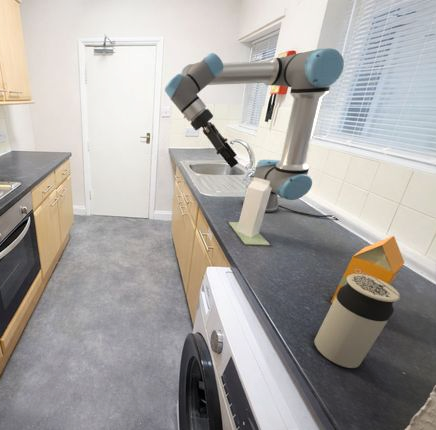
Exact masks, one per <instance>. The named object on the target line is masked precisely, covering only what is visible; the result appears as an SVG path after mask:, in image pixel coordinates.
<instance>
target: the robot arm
mask: <svg viewBox="0 0 436 430" xmlns="http://www.w3.org/2000/svg"><path fill="white" fill-rule="evenodd" d="M344 67H345V61H344V57H343V55H342V54H341V53H340V51H339V50H337V49H336V48H330V47H329V48H328V47H327V48H318V49H314V50H313V49H312V50H309V51H304V52H298V53H295V54H291V55H286V56H281V57H272V58H270V59H269V60H265V61H239V62H238V61H237V62H236V61H235V62H223V61H222V59H221V58H220V57H219V56H218V54H216V53H214V52H210V53H209V54H208V55H206V56H205V57H203V59H202V60H200V61H198V62H195V63H191V64H187V65H186V66H184V67H183V68H182V69H181V70H180V71H181V72H180V73H177V74H176V75H174V76H173V77H172V78H171V79H170V80H169V81H168V82H167V83H166V85H165V87H164V92H165V93H166V95H167V96H168V97H169V99H170V101H171V102H172V103H173V105H175V107H176V108H177V109H178V110H179V112H180V113H181V114H182V115H183V116H182V118H183V119H185V120H187V121H188V122H190V125H191V127H192V128H193V130H195V131H198V130H200V129H201V128H202V133H203V134H204V135H205V136H206V138H207V139H208V140H209V142H210V143H211V144H212V146H213V147H214V149H215V150H216V152H215V153H216V154H217V155H219V154H220V156H221V157H222V158H223V160H224V161H225V162H226V164H227V165H228V166H229V167H230V168H231V169H232V168H233V167H235V166H236V165H238V164H239V162H238V160H237V159H236V157H237V153H236V152H235V150H234V149H233V147H231V145H230V144H229V143H228V138H225V137H224V136H223V135H222V134H221V133H220V132H219V130H218V129H217V127H216V126H215V124H213V123H212V122H211V120H212V119H213V118H214V115H213V113H212V112H211V111H210V110H209V108H207V105H206V104H205V103H204V101H203V100H202V99H201V98H200V97H199V95H198V94H199V93H200V92H201V91H202V90H204V88H206V87H207V86H218V85H219V86H221V85H241V84H264V85H265V86H278V87H286V88H290V92H289V94H290V96H291V97H292V98H293V101H292V106H291V110H290V115H289V120H288V123H287V129H286V134H285V138H284V143H283V144H284V145H283V149H282V153H281V158H280V159H260V160H258V161H257V163H256V166H255V170H254V175H253V179H254V177H256V178H260V179H264V180H268V181H270V187H271V188H272V189H271V193H270V196H269V199H268V203H267V206H266V210H265V213H274V212H277V211H278V209H279V208H281V209H284V210H286V211H289V212H293V213H295V214H301V215H305V216H308V217H309V216H310V217H316V218H332V219H335V220H336V221H339V218H338V217H337V218H338V219H337V218H335V217H336V216H335V217H332V216H333V215H331V214H326V215H325V214H323V215H319V214H312V213H307V212H304V211H297V210H293V209H291V208H289V207H286V206H283V205H279V199H278V198H279V197H280V198H282V199H285V200H288V201H296V200H299V199H300V198H301V199H302V198H303V197H304V196H306V195H307V194H308V193H309V191H310V190H311V188H312V186H313V179H312V178H311V176H310V175H308V174H309V169H310V166H309V164H308V163H307V159H308V154H309V152H310V147H311V143H312V140H313V135H314V132H315V131H314V130H315V127H316V122H317V119H318V115H319V111H320V107H321V103H322V99H323V97H324V96H325V95H327V94H328V93H330V88H331V86H332V85H334V84H335V83H336V82H337V80H339V79H340V78H341V76H342V74H343V71H344ZM209 121H210V122H209ZM253 179H252V180H253ZM244 200H245V197H244V199H243V201H242V205H243V204H244Z"/></svg>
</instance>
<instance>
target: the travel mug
mask: <svg viewBox="0 0 436 430" xmlns="http://www.w3.org/2000/svg"><path fill="white" fill-rule="evenodd" d="M400 299H401V295H400V292H399V291H398V290H397V289H396V288H394V287H393V286H392V285H391V286H390V285H389V284H387V283H385V282H383V281H381V280H379V279H377V278H374V277H371V276H367V275H362V274H351V275H349V276H348V277H347V284H346V285H344V286H342V287H341V288H340V289H339V291H338V293H337V295H336V297H335V299H334V301H333V303H331V305H330V307H329V310H328V311H327V313H326V315H325V317H324V320H323V321H322V323H321V325H320V328H319V330H318V331H317V334H316V335H315V338H314V341H313V343H314V345H315V347H316V349H317V350H318V352H319V353H320V354H321V355H323V357H324V358H326V359H327V360H329V361H331V362H332V363H334V364H336V365H338V366H340V367H343V368H347V369H356V368H358V367H360V365H362V363H363V361H364V360H365V358H366V356H367V355H368V353H369V352H370V350H371V349H372V347H373V346H374V343H375V342H376V341H377V339H378V338H379V336H380V334H381V333H382V331H383V330H384V328H385V326H386V325H387V324H388V322H389V320H390V319H391V317H392V316H393V314H394V312H395V311H394V305H393V304H394V302H398V301H399V300H400Z"/></svg>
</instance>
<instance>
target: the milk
mask: <svg viewBox="0 0 436 430" xmlns="http://www.w3.org/2000/svg"><path fill="white" fill-rule="evenodd" d="M253 178H254V179H252V181H251V182H250V183H249V185H248V186H247V188H246V193H245V197H244V198H245V200H244V199H243V201H244V204H243V203H242V208H241V212H240V216H239V220H238V222H239V224H238V228H237V232H239V233H242V234H244V235H246V236H249V237H252V236H254V235H256V234H258V233H260V229H261V227H262V224H263V219H264V216H265V213H266V212H265V210H266V206H267V203H268V199H269V196H270V193H271V189H272V188H271V187H270V181H268V180H264V179H260V178H256V177H254V176H253Z"/></svg>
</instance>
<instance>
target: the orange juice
mask: <svg viewBox="0 0 436 430" xmlns="http://www.w3.org/2000/svg"><path fill="white" fill-rule="evenodd" d="M404 264H405V260H404V258H403V255H402V253H401V250H400V248H399V245H398V242H397V239H396V237H395V235H392V236H390V237H389V236H388V237H387V238H385V239H382V240H380V241H377V242H373V243H372V244H370V245H367V246H365V247H363V248H362V249H360V250H359V251H358V252H356V253H355V254H354V255H353V256H351V259H350V261H349V263H348V265H347V267H346V270H345V271H344V274H343V275H342V277H341V279H340V281H339V283H338V285H337V288H336V290H335V292H334V295H333V297H332V299H331V301H330V303H331V304H332V303H333V301H334V299H335V297H336V295H337V293H338V291H339V289H340V288H341V287H342V286H344V285H346V284H347V277H348V276H349V275H351V274H362V275H367V276H371V277H374V278H377V279H379V280H381V281H383V282H385V283H387V284H389V285H390V286H392V284H393V283H394V280H395V279H396V277H397V276H398V274H399V272H400V270H401V269H402V267H403V266H404Z"/></svg>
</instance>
